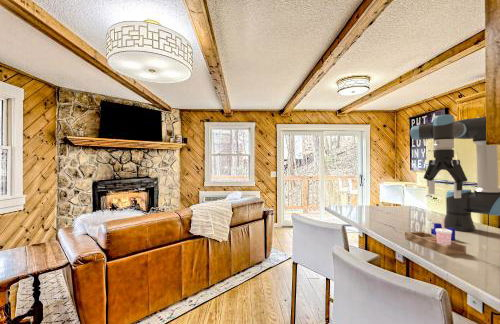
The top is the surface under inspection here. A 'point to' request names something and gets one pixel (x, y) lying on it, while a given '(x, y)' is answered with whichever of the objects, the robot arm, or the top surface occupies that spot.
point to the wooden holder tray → (435, 243)
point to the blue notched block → (438, 225)
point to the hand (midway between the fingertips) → (443, 196)
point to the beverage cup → (443, 235)
